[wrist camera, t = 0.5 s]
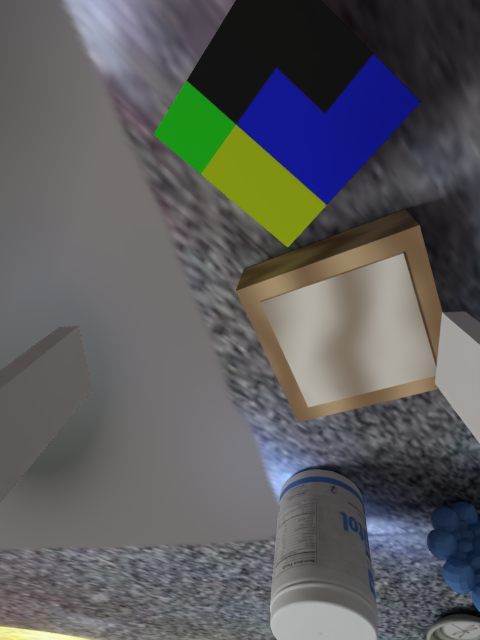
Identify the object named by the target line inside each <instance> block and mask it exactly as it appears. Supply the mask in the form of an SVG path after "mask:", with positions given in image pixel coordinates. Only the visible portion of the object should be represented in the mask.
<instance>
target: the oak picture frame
mask: <svg viewBox="0 0 480 640" xmlns="http://www.w3.org/2000/svg"><path fill="white" fill-rule="evenodd" d="M236 293H237V295H238V297H239V299H240V301H241V303H242V305H243V307H244V309H245V311H246V314H247V316H248V318H249V320H250V322H251V324H252V326H253V328H254V330H255V332H256V335H257V337H258V339H259V341H260V343H261V345H262V347H263V349H264V351H265V353H266V356H267V358H268V360H269V362H270V364H271V366H272V368H273V370H274V372H275V374H276V376H277V379H278V381H279V383H280V385H281V387H282V389H283V391H284V393H285V395H286V397H287V400H288V402H289V404H290V406H291V408H292V410H293V412H294V414H295V416H296V418H297V421H298V422H301V421H306V420H310V419H314V418H318V417H322V416H327V415H331V414H335V413H339V412H343V411H348V410H352V409H356V408H360V407H364V406H369V405H373V404H377V403H381V402H385V401H390V400H394V399H398V398H402V397H406V396H410V395H415V394H419V393H423V392H427V391H431V390H436V389H439V388H438V387H437V385H436V384H435V377H436V367H437V357H438V347H439V337H440V328H441V318H442V308H441V304H440V301H439V297H438V293H437V289H436V285H435V282H434V278H433V274H432V270H431V266H430V263H429V259H428V255H427V251H426V247H425V244H424V240H423V236H422V232H421V228H420V225H419V224H418V223H417V222H416V221H415V219H414V218H413V217H412V216H411V215H410V214H409V213H408V212H407V210H406V209H404V210H401V211H398V212H396V213H393V214H390V215H388V216H385V217H382V218H379V219H377V220H374V221H371V222H369V223H366V224H363V225H361V226H358V227H355V228H353V229H350V230H347V231H345V232H342V233H339V234H337V235H334V236H331V237H329V238H326V239H323V240H321V241H318V242H315V243H313V244H310V245H307V246H305V247H302V248H299V249H297V250H294V251H291V252H289V253H286V254H283V255H281V256H278V257H275V258H273V259H270V260H267V261H265V262H262V263H259V264H257V265H254V266H251V267H249V268H246V269H244V270H243V273H242V276H241V278H240V281H239V284H238V286H237V289H236Z"/></svg>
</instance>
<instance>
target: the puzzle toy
mask: <svg viewBox="0 0 480 640" xmlns="http://www.w3.org/2000/svg"><path fill="white" fill-rule="evenodd" d="M420 102H421V101H420V100H419V99H418V98H417V97H416V96H415V95H414V94H413V93H412V92H411V91H410V90H409V89H408V88H407V87H406V86H405V85H404V84H403V83H402V82H401V81H400V80H399V79H398V78H397V77H396V76H395V75H394V74H393V73H392V72H391V71H390V70H389V69H388V68H387V67H386V66H385V65H384V64H383V63H382V62H381V61H380V60H379V59H378V58H377V57H376V56H375V55H374V54H373V53H372V52H371V51H370V50H369V49H368V48H367V47H366V46H365V44H364V43H363V42H362V41H361V40H360V39H359V38H358V37H357V36H356V35H355V34H354V33H353V32H352V31H351V30H350V29H349V28H348V27H347V26H346V25H345V24H344V23H343V22H342V21H341V20H340V19H339V18H338V17H337V16H336V15H335V14H334V13H333V12H332V11H331V10H330V9H329V8H328V7H327V6H326V5H325V4H324V3H323V2H322V1H321V0H236V1H235V3H234V4H233V6H232V8H231V9H230V11H229V13H228V14H227V16H226V17H225V19H224V21H223V22H222V24H221V26H220V27H219V29H218V30H217V32H216V34H215V35H214V37H213V39H212V40H211V42H210V44H209V45H208V47H207V48H206V50H205V52H204V53H203V55H202V57H201V58H200V60H199V61H198V63H197V65H196V66H195V68H194V70H193V71H192V73H191V74H190V76H189V78H188V79H187V81H186V83H185V84H184V86H183V88H182V89H181V91H180V92H179V94H178V96H177V97H176V99H175V101H174V102H173V104H172V105H171V107H170V109H169V110H168V112H167V114H166V115H165V117H164V118H163V120H162V122H161V123H160V125H159V127H158V128H157V130H156V131H155V133H154V135H155V136H156V137H157V138H158V139H160V140H161V141H162V142H163V143H164V144H166V145H167V146H168V147H169V148H170V149H172V150H173V151H174V152H175V153H176V154H177V155H179V156H180V157H181V158H182V159H183V160H185V161H186V162H187V163H188V164H189V165H191V166H192V167H193V168H194V169H195V170H196V171H198V172H199V173H200V174H201V175H202V176H204V177H205V178H206V179H207V180H208V181H210V182H211V183H212V184H213V185H214V186H215V187H217V188H218V189H219V190H220V191H221V192H223V193H224V194H225V195H226V196H227V197H229V198H230V199H231V200H232V201H233V202H234V203H236V204H237V205H238V206H239V207H240V208H242V209H243V210H244V211H245V212H246V213H248V214H249V215H250V216H251V217H252V218H253V219H255V220H256V221H257V222H258V223H259V224H261V225H262V226H263V227H264V228H265V229H267V230H268V231H269V232H270V233H271V234H272V235H274V236H275V237H276V238H277V239H278V240H280V241H281V242H282V243H283V244H284V245H286V246H287V247H289V246H290V245H291V244H292V242H293V241H294V240H295V239H296V238H297V237H298V236H299V235H300V234H301V233H302V231H303V230H304V229H305V228H306V227H307V226H308V225H309V224H310V223H311V222H312V221H313V219H314V218H315V217H316V216H317V215H318V214H319V213H320V212H321V211H322V210H323V208H324V207H325V206H326V205H327V204H328V203H329V202H330V201H331V200H332V199H333V198H334V196H335V195H336V194H337V193H338V192H339V191H340V190H341V189H342V188H343V187H344V186H345V184H346V183H347V182H348V181H349V180H350V179H351V178H352V177H353V176H354V175H355V173H356V172H357V171H358V170H359V169H360V168H361V167H362V166H363V165H364V164H365V163H366V161H367V160H368V159H369V158H370V157H371V156H372V155H373V154H374V153H375V152H376V150H377V149H378V148H379V147H380V146H381V145H382V144H383V143H384V142H385V141H386V140H387V138H388V137H389V136H390V135H391V134H392V133H393V132H394V131H395V130H396V129H397V127H398V126H399V125H400V124H401V123H402V122H403V121H404V120H405V119H406V118H407V117H408V115H409V114H410V113H411V112H412V111H413V110H414V109H415V108H416V107H417V106H418V105H419V103H420Z"/></svg>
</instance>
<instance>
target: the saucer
mask: <svg viewBox="0 0 480 640" xmlns="http://www.w3.org/2000/svg"><path fill="white" fill-rule="evenodd" d="M426 638H427V640H480V618H479V617H475V616H472V615H468V614H452V615H449V616H446V617H443V618H441V619H439V620H438V621H436V622H435V623H434V624H433V625H432V627H431V628H430V629H429V630H428V632H427V636H426Z"/></svg>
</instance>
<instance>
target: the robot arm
mask: <svg viewBox="0 0 480 640" xmlns="http://www.w3.org/2000/svg"><path fill="white" fill-rule="evenodd" d="M435 384H436V385H437V387H438V388H439V389H440V391H441V392H442V393H443V395H444V396H445V398H446V399H447V400H448V402H449V403H450V404H451V406H452V407H453V408H454V410H455V411H456V412H457V414H458V415H459V416H460V418H461V419H462V420H463V422H464V423H465V424H466V426H467V427H468V428H469V430H470V431H471V432H472V434H473V435H474V436H475V438H476V439H477V440H478V442H479V443H480V322H479V321H477V320H476V319H475V318H473V317H472V316H471V315H469V314H468V313H467V312H442V318H441V328H440V337H439V347H438V357H437V367H436V377H435ZM91 392H92V386H91V381H90V377H89V372H88V367H87V363H86V358H85V354H84V349H83V344H82V339H81V334H80V330H79V326H70V327H58V328H57V329H56V330H54V331H53V332H52V333H50V334H49V335H48V336H46V337H45V338H44V339H42V340H41V341H39V342H38V343H37V344H35V345H34V346H32V347H31V348H30V349H28V350H27V351H26V352H24V353H23V354H22V355H20V356H19V357H17V358H16V359H15V360H13V361H12V362H11V363H9V364H8V365H6V366H5V367H4V368H2V369H1V370H0V502H1V501H2V500H3V499H4V497H5V496H6V495H7V494H8V493H9V491H10V490H11V489H12V488H13V487H14V485H15V484H16V483H17V482H18V480H19V479H20V478H21V477H22V476H23V474H24V473H25V472H26V471H27V470H28V468H29V467H30V466H31V465H32V463H33V462H34V461H35V460H36V459H37V457H38V456H39V455H40V454H41V452H42V451H43V450H44V449H45V448H46V447H47V445H48V444H49V443H50V442H51V440H52V439H53V438H54V437H55V435H56V434H57V433H58V432H59V430H61V428H62V427H63V426H64V425H65V423H66V422H67V421H68V420H69V419H70V417H71V416H72V415H73V414H74V412H75V411H76V410H77V409H78V408H79V406H80V405H81V404H82V403H83V402H84V400H85V399H86V398H87V397H88V395H89V394H90V393H91Z"/></svg>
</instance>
